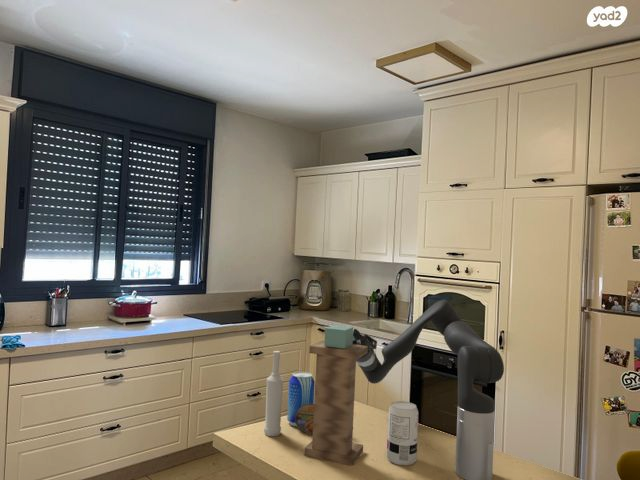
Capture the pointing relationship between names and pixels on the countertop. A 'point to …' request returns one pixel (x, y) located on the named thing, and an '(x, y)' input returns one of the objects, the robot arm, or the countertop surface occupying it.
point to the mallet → (339, 336)
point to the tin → (305, 418)
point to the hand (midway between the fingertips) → (349, 331)
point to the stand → (334, 404)
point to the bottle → (274, 399)
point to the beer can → (299, 393)
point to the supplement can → (402, 433)
